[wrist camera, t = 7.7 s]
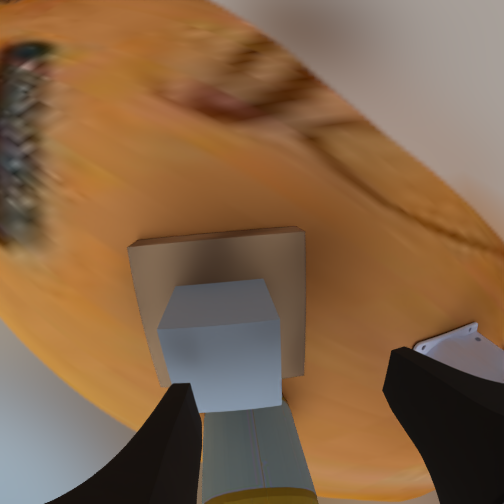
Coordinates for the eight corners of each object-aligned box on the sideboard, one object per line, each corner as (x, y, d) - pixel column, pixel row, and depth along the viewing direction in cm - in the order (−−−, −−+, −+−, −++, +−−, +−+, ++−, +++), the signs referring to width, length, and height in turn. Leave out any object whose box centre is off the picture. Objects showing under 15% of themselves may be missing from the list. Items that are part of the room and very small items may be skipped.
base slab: (296, 226, 17) (305, 231, 15) (297, 359, 20) (303, 375, 18) (137, 240, 16) (127, 247, 15) (165, 370, 19) (161, 387, 17)
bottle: (198, 384, 20) (190, 569, 5) (288, 375, 20) (349, 551, 6) (211, 436, 21) (215, 580, 7) (287, 429, 22) (326, 567, 7)
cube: (263, 278, 16) (279, 319, 11) (267, 351, 17) (281, 405, 12) (175, 286, 15) (156, 329, 11) (189, 358, 17) (181, 413, 12)
